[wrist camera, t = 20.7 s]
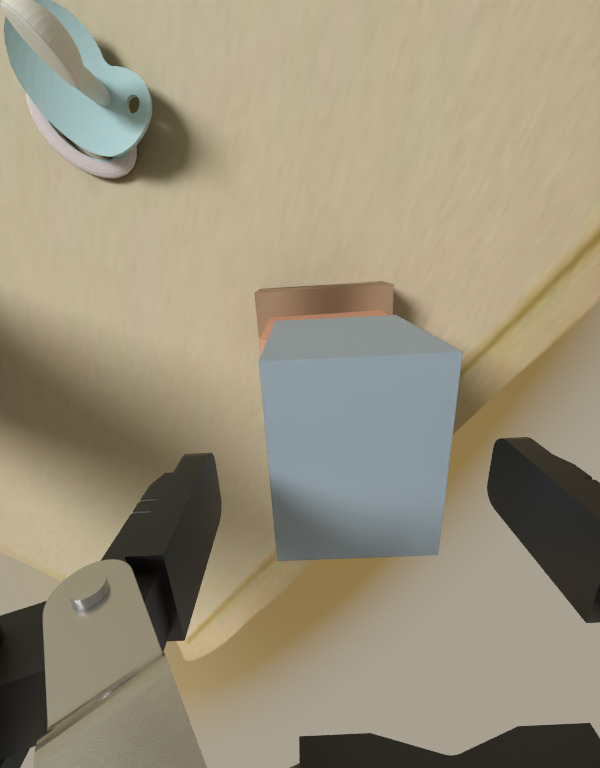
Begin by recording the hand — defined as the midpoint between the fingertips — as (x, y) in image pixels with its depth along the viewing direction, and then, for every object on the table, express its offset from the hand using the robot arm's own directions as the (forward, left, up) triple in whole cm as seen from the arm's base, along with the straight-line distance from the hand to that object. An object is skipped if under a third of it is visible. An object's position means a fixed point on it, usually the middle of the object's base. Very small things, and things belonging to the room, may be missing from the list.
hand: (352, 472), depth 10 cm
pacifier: (-12, +14, -15) cm, 24 cm away
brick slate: (0, 0, -6) cm, 6 cm away
